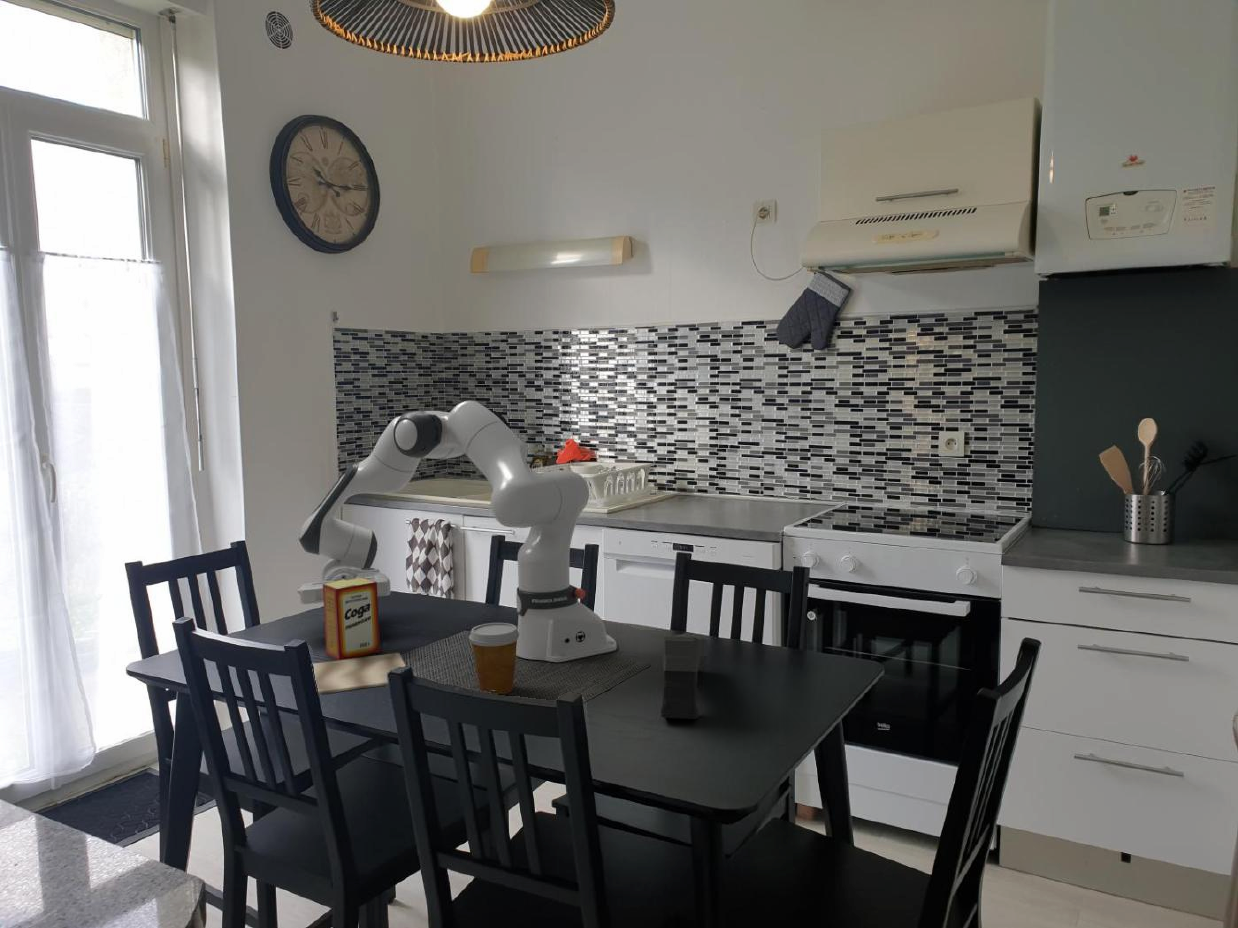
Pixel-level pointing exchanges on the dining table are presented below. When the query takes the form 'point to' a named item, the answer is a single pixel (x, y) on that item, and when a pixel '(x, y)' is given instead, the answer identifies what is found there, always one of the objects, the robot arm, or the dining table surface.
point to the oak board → (355, 672)
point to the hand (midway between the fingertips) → (348, 596)
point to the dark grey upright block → (682, 674)
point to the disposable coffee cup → (495, 656)
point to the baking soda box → (351, 618)
